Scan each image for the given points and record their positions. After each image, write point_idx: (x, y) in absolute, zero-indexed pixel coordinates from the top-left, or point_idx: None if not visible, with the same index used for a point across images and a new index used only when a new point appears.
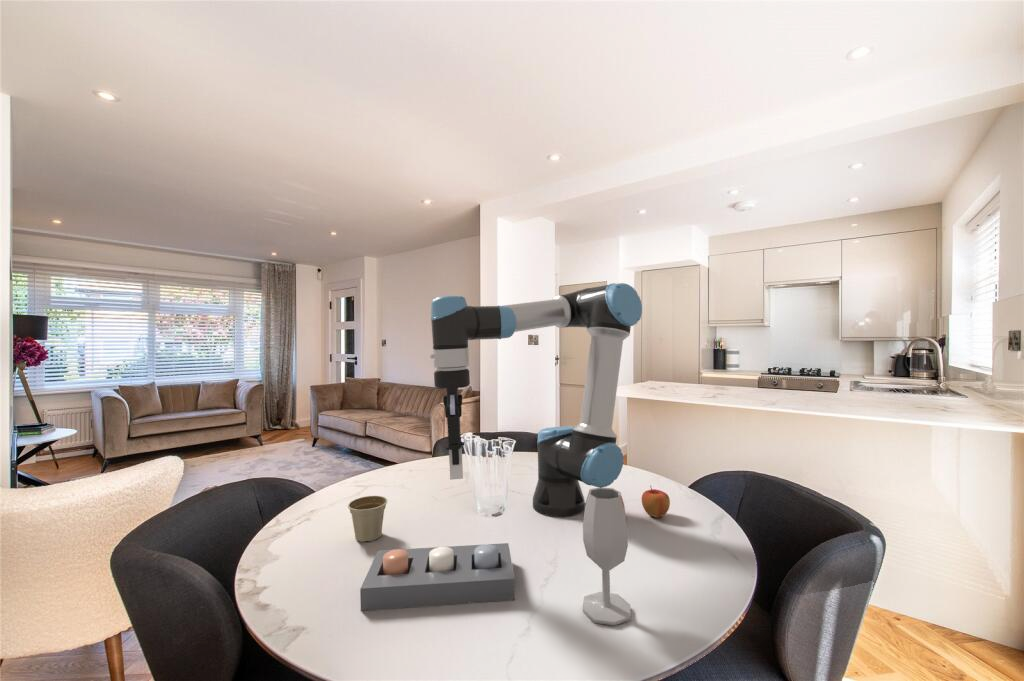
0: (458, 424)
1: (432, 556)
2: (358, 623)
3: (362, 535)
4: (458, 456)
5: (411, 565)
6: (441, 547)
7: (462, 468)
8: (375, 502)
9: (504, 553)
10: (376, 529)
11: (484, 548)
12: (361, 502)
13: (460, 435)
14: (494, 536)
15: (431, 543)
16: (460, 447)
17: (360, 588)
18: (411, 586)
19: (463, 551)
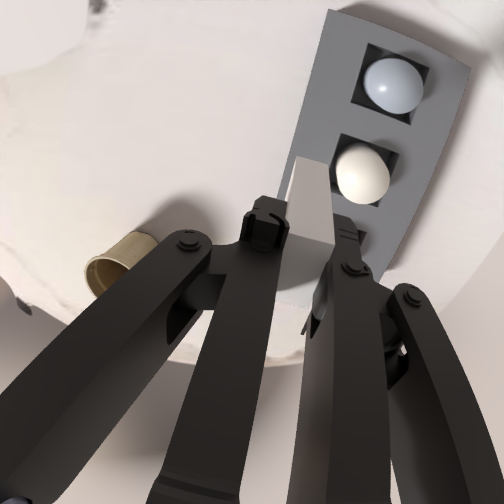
0: (492, 459)
1: (370, 200)
2: (392, 279)
3: None
4: (359, 247)
5: None
6: (340, 173)
7: (329, 183)
8: (93, 265)
9: (375, 36)
10: (150, 250)
11: (387, 86)
12: (99, 288)
13: (233, 278)
14: (199, 14)
15: (192, 148)
16: (422, 292)
17: None
18: (404, 233)
19: (329, 115)
